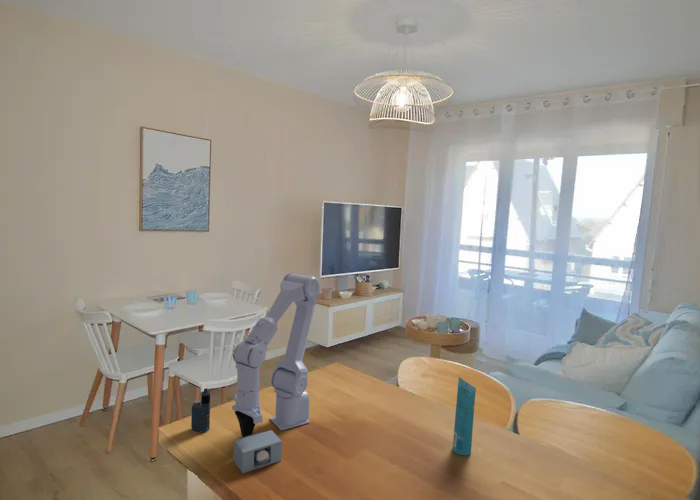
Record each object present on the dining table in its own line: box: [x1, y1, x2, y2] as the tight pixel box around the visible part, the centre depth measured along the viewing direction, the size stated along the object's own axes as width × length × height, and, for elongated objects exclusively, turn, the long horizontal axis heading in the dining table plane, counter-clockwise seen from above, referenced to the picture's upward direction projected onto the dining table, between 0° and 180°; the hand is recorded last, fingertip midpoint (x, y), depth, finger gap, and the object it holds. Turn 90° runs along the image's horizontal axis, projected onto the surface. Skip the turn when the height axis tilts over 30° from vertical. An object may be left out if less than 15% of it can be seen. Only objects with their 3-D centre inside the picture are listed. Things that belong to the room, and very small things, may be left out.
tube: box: [452, 376, 477, 456], centre depth 111 cm, size 7×5×19 cm, turn 26°
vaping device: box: [190, 388, 211, 433], centre depth 115 cm, size 3×5×12 cm, turn 78°
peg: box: [254, 448, 269, 464], centre depth 103 cm, size 7×4×4 cm, turn 35°
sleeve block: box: [233, 429, 283, 474], centre depth 103 cm, size 6×10×5 cm, turn 125°
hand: (246, 437), depth 109 cm, fingers closed
